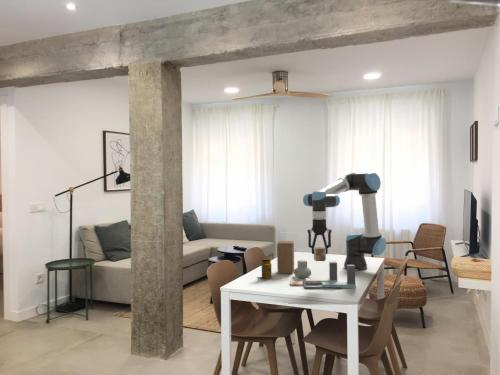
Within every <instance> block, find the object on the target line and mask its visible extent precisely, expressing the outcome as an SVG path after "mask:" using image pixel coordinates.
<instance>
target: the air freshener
mask: <svg viewBox="0 0 500 375" xmlns="http://www.w3.org/2000/svg"><path fill="white" fill-rule="evenodd" d="M293 274H294V276H295V277H296V278H298V279H305V278H310V276H311V275H312V270H311V269H310V268H309V267H308V261H307V260H305V259H304V260H303V259H301V260H297V267H296V268H294V272H293Z"/></svg>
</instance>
